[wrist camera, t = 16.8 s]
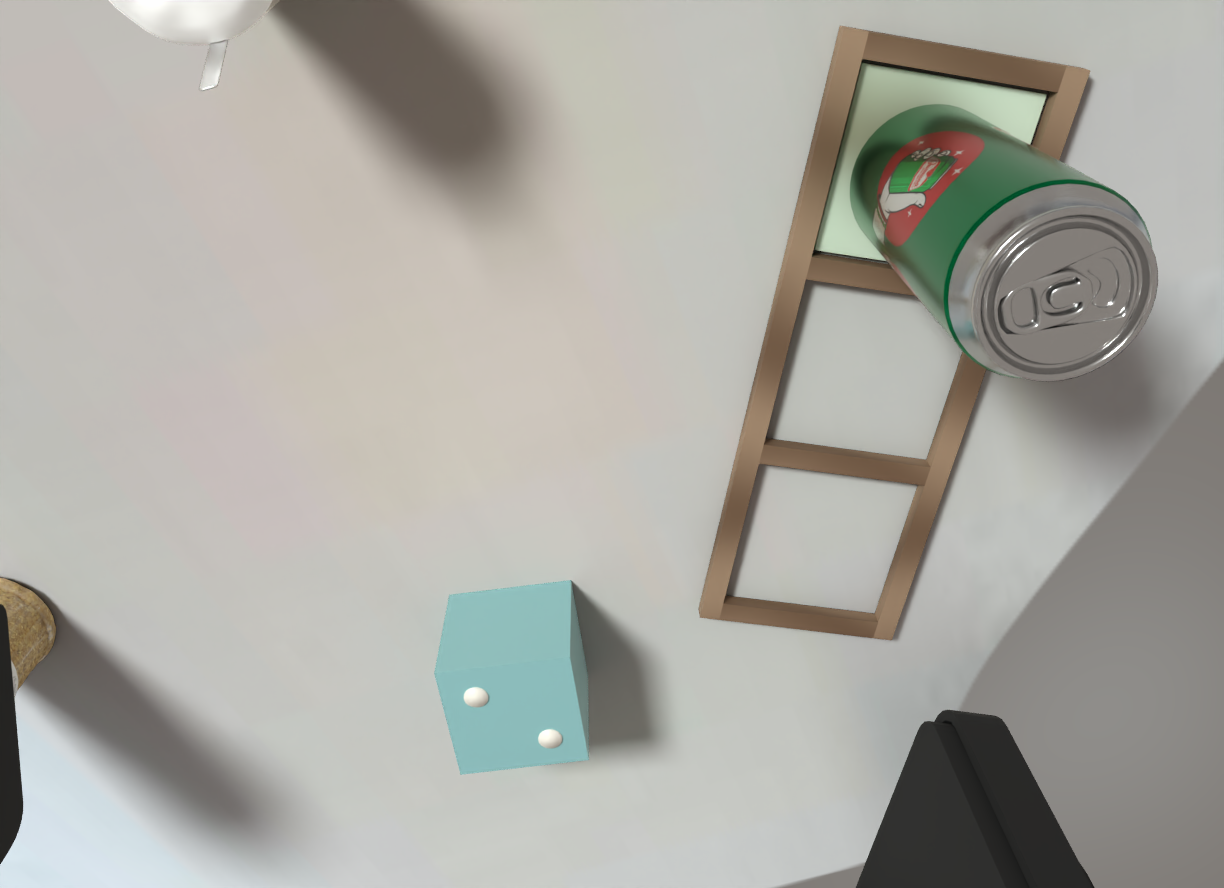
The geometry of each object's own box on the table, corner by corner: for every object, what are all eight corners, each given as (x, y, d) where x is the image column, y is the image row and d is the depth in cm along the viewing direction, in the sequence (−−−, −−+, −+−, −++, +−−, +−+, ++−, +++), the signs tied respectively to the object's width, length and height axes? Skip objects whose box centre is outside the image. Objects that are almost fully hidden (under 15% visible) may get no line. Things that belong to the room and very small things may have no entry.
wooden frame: (888, 631, 44) (891, 640, 44) (698, 608, 44) (700, 617, 43) (1082, 68, 34) (1090, 70, 34) (839, 25, 33) (844, 27, 33)
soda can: (1007, 225, 36) (1184, 361, 26) (862, 271, 37) (976, 422, 26) (984, 78, 34) (1166, 160, 23) (830, 130, 35) (940, 232, 24)
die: (588, 675, 45) (588, 760, 41) (472, 689, 45) (460, 776, 41) (571, 578, 43) (570, 658, 38) (449, 593, 43) (433, 674, 39)
